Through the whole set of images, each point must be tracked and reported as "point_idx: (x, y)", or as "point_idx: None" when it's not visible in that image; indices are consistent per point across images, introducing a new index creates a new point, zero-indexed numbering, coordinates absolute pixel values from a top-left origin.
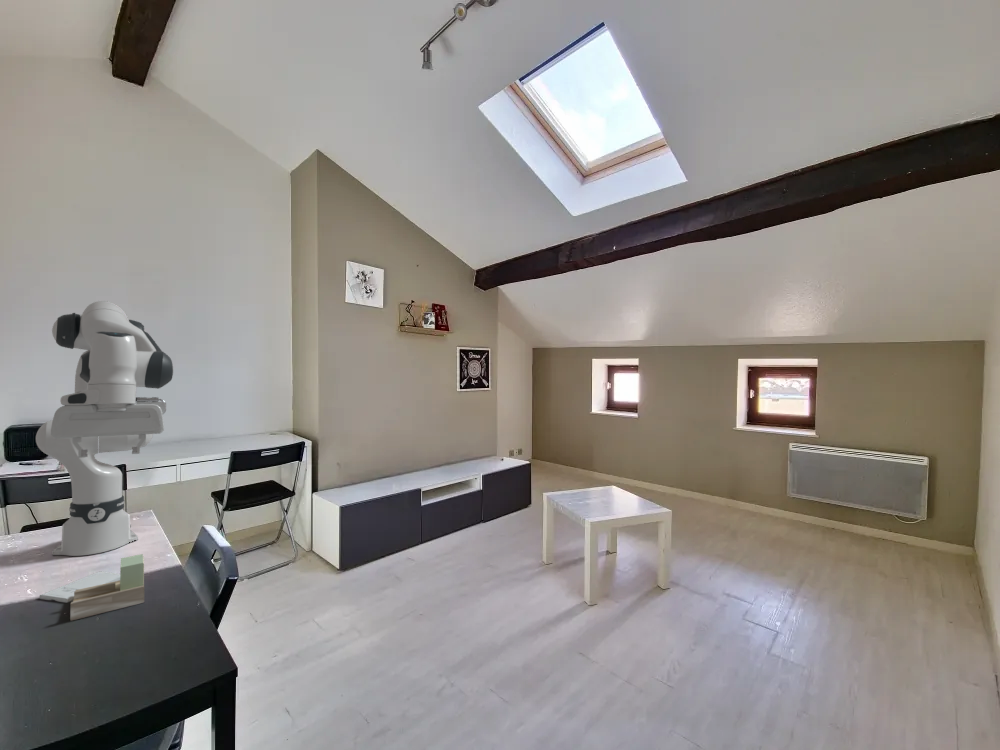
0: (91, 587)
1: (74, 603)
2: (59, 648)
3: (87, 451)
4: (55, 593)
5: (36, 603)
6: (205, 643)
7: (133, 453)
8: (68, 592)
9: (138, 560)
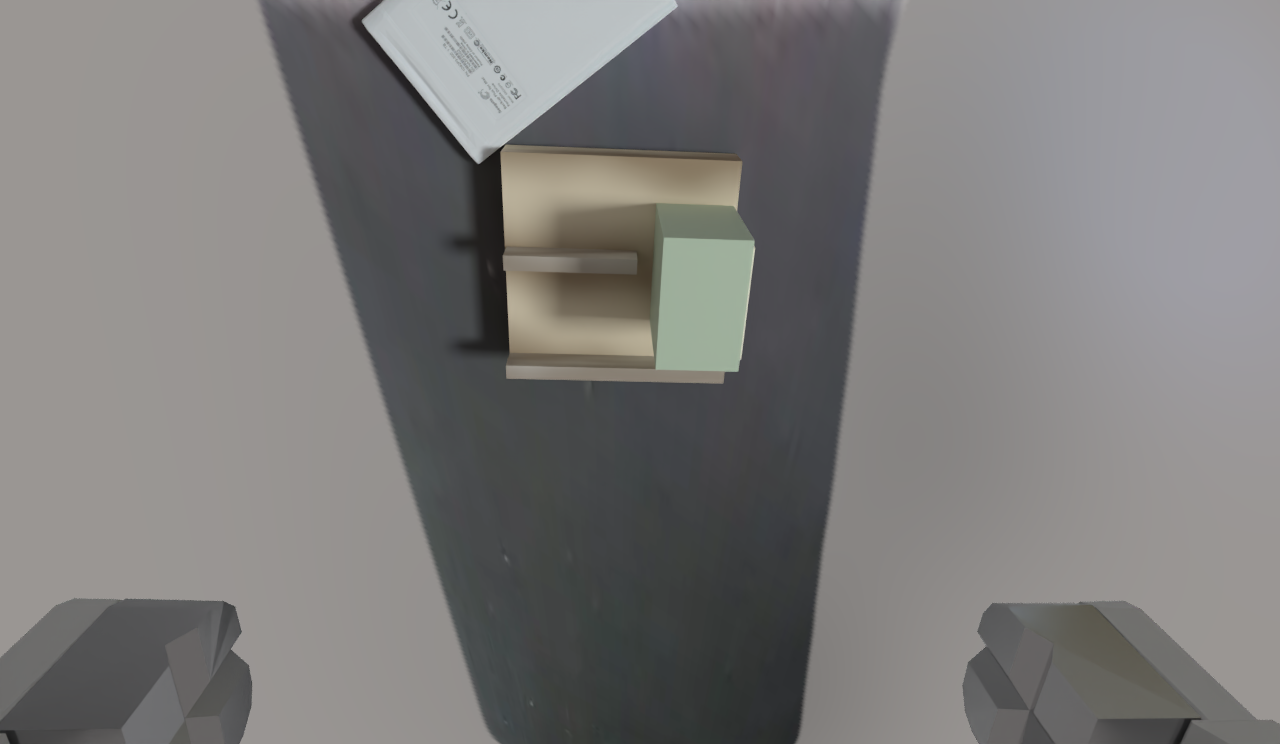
0: (554, 163)
1: (517, 377)
2: (512, 502)
3: (174, 740)
4: (422, 59)
5: (369, 79)
6: (791, 661)
7: (988, 698)
8: (471, 89)
9: (726, 327)
